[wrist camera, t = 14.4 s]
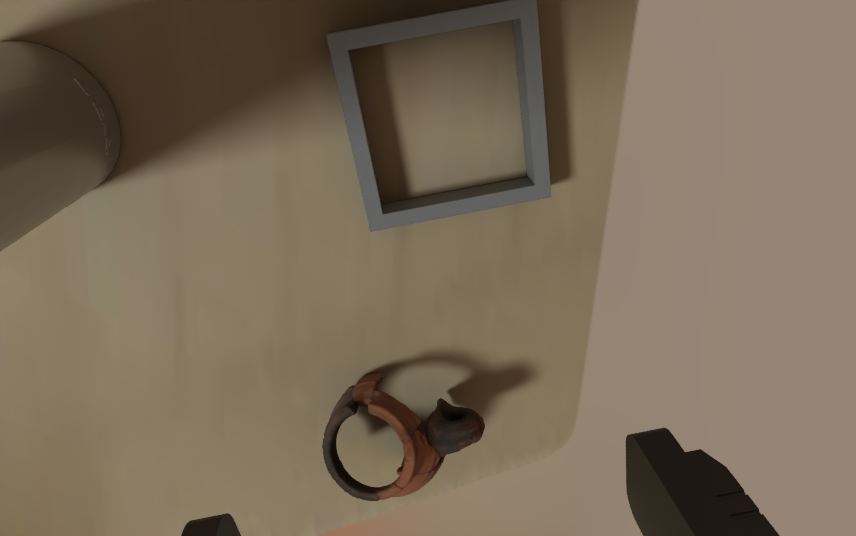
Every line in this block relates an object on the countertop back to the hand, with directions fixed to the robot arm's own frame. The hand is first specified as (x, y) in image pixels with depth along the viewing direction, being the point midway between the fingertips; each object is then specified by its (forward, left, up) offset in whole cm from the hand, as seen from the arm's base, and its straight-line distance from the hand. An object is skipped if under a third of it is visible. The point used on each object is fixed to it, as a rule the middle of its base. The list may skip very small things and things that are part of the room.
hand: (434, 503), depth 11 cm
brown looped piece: (-3, -21, -28) cm, 35 cm away
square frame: (+4, +2, -28) cm, 28 cm away
